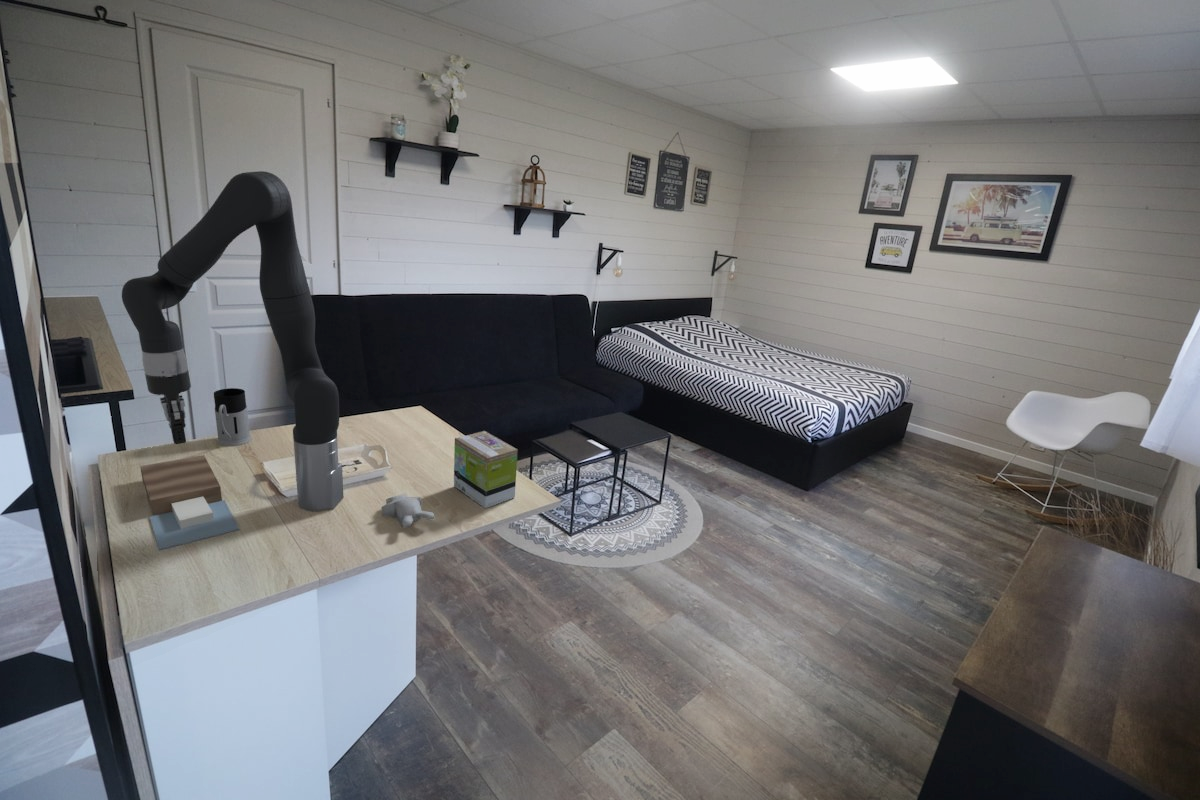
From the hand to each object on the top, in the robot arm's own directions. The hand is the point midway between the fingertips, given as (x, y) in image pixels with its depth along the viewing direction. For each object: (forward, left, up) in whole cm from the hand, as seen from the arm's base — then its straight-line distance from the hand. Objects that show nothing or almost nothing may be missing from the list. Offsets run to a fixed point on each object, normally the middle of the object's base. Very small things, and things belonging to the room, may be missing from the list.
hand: (179, 442), depth 126 cm
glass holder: (+10, -32, -15) cm, 37 cm away
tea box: (-66, -16, -15) cm, 70 cm away
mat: (-7, +9, -15) cm, 19 cm away
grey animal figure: (-51, 0, -15) cm, 53 cm away
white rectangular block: (-5, +6, -15) cm, 17 cm away
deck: (+5, -4, -15) cm, 16 cm away
